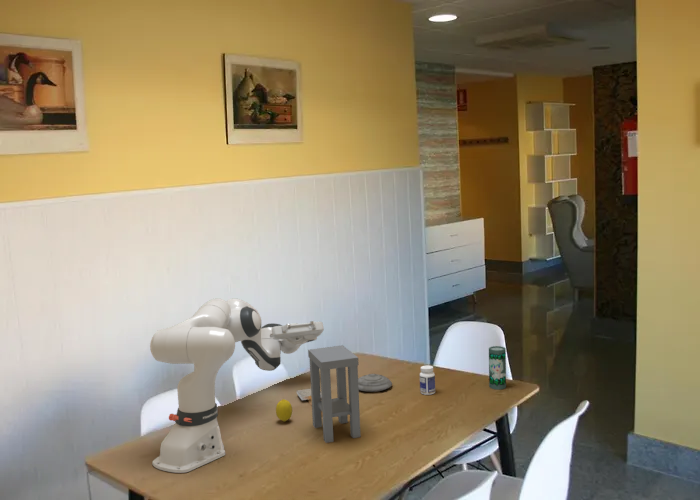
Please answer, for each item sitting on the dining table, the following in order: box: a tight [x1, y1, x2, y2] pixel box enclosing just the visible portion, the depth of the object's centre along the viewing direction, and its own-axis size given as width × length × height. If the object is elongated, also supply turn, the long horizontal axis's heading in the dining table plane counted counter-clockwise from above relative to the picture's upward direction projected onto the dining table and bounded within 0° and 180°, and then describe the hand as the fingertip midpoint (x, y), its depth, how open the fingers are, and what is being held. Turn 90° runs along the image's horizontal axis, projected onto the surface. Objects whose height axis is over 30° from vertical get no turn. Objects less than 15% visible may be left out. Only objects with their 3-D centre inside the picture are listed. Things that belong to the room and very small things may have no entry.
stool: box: [307, 344, 361, 444], centre depth 215 cm, size 16×12×26 cm
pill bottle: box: [419, 364, 436, 396], centre depth 249 cm, size 6×6×10 cm
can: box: [488, 345, 507, 391], centre depth 252 cm, size 6×6×15 cm
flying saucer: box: [358, 373, 393, 393], centre depth 258 cm, size 15×15×6 cm
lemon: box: [275, 398, 293, 423], centre depth 226 cm, size 6×6×8 cm
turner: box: [296, 388, 322, 414], centre depth 241 cm, size 24×8×2 cm, turn 18°
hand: (300, 324), depth 254 cm, fingers open, 8 cm apart
